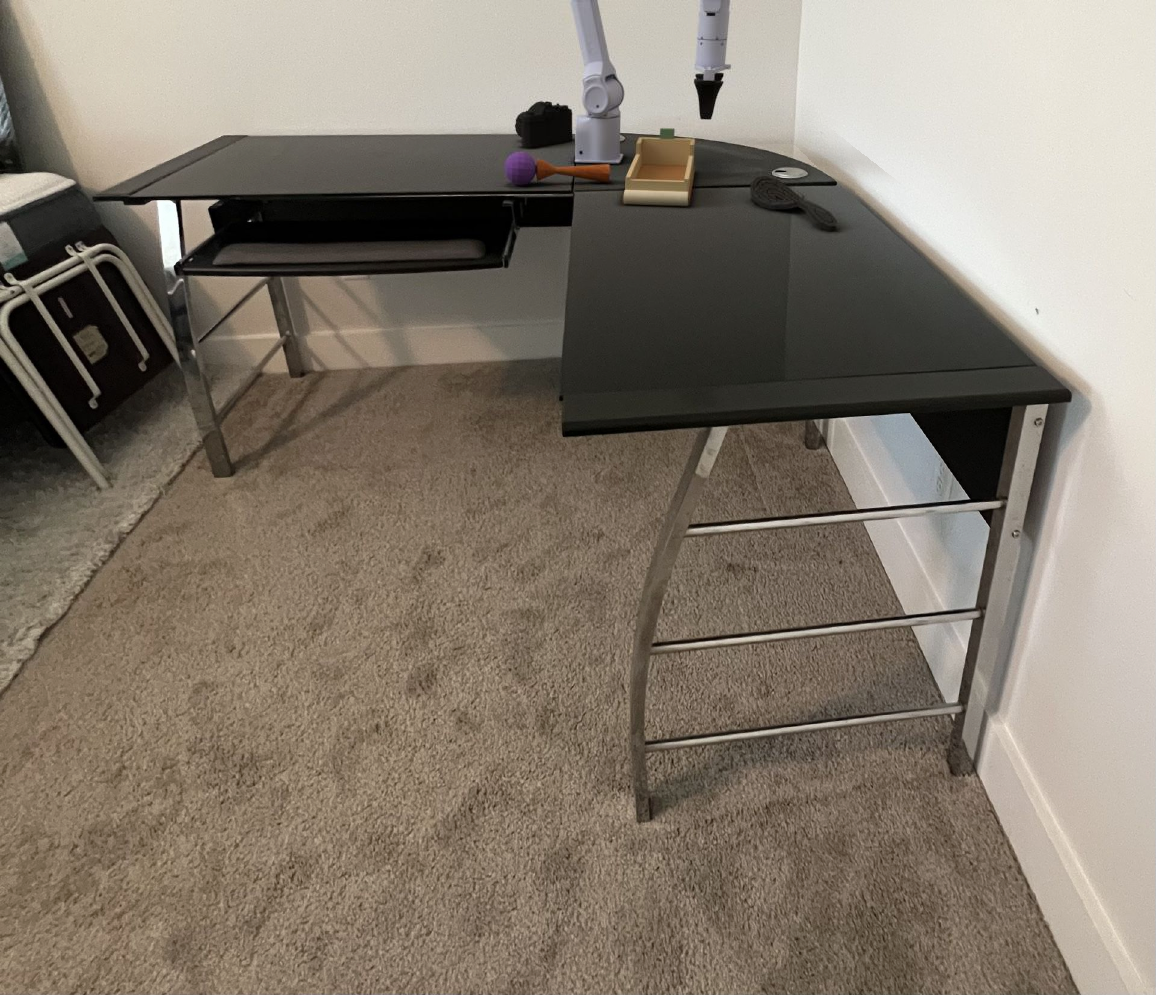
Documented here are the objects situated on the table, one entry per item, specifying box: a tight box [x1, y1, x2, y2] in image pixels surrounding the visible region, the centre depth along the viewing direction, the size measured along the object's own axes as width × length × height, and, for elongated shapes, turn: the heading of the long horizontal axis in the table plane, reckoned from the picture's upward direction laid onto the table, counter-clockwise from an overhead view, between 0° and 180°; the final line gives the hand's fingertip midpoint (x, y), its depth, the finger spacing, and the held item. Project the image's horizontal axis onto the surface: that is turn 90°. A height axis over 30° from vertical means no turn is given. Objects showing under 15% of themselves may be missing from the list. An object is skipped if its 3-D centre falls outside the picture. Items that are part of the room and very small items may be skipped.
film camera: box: [514, 100, 574, 149], centre depth 194 cm, size 15×10×9 cm, turn 133°
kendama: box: [504, 151, 611, 186], centre depth 161 cm, size 6×6×20 cm
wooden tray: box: [622, 127, 696, 207], centre depth 157 cm, size 27×12×8 cm, turn 171°
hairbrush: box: [749, 171, 838, 232], centre depth 145 cm, size 8×4×25 cm
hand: (706, 115), depth 168 cm, fingers open, 7 cm apart
